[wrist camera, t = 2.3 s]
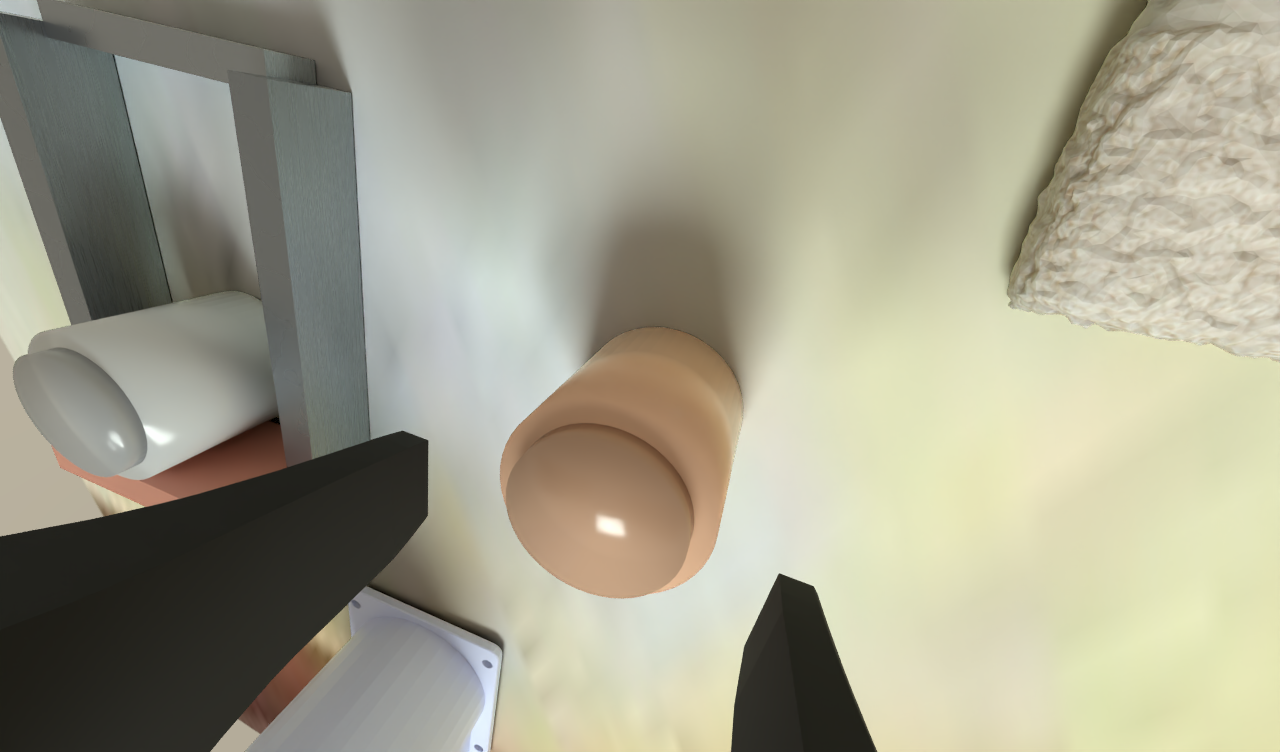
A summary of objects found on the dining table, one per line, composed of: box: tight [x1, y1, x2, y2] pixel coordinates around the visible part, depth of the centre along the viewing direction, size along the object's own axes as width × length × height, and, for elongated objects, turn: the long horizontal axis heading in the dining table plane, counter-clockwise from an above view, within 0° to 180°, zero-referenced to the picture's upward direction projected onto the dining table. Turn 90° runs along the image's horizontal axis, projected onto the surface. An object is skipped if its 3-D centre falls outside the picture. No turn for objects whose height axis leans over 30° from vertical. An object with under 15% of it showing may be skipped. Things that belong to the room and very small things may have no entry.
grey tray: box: [0, 0, 370, 467], centre depth 17 cm, size 17×10×2 cm, turn 167°
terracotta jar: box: [500, 327, 743, 598], centre depth 12 cm, size 5×5×6 cm
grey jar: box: [13, 291, 279, 480], centre depth 17 cm, size 5×5×6 cm
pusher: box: [51, 421, 287, 507], centre depth 19 cm, size 2×7×4 cm, turn 78°
